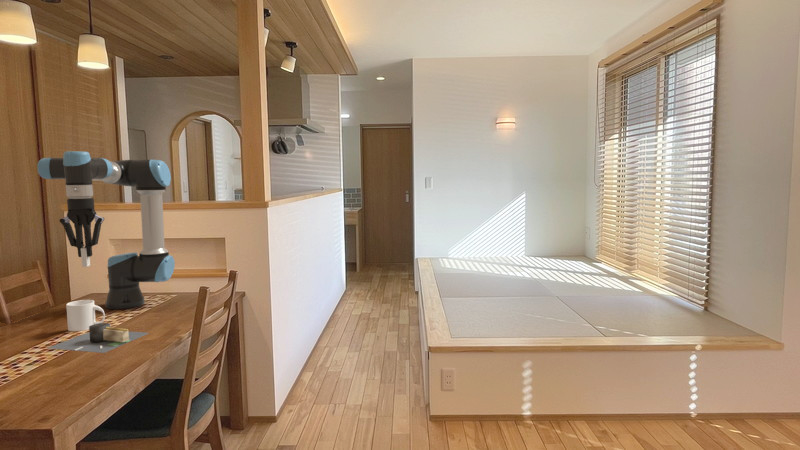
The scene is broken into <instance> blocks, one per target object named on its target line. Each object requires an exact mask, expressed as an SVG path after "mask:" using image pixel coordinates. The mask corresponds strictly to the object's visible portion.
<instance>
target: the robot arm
mask: <svg viewBox="0 0 800 450" xmlns="http://www.w3.org/2000/svg"><path fill="white" fill-rule="evenodd" d="M36 165H37V173H38V175H39V176H40V177H41V178H42V179H45V180H64V181H65V192H66V193H65V195H66V197H67V199H66V205H67V206H66V207H67V212H66V216H64V217H63V218H60V219H59V223H61V224H62V226H63V229H64V231H65V233H66V236H67V239H68V242H69V244H70V246H71V247H75V248H77V256H78V258H81V259H80V260H81V267H82V268H87V267H90V266H91V258H90V257H92V256H93V247H94V246H96V245H98V243H99V239H100V238H99V237H100V235H101V234H100V232H101V227H102V224H103V223H104V221H105V217H103V216H99V215H98V214H97V212H96V209H95V203H94V202H95V199H94V197H93V196H94V187H93V181H94V182H103V183H104V184H110V185H118V186H123V187H124V186H125V187H135V192H137V193H138V194H139V197H140V217H141V218H140V219H141V234H142V236H141V237H142V249H141V250H140V251H139V254H138V252H127V253H121V254H120V253H119V254H116V255H112V256H110V257H108V259H107V275H108V287H109V288H108V293H107V298H106V300H105V309H107V310H125V309H133V308H137V307H139V306H143V305H144V304H145V297H144V296H143V292H142V290H141V288H140V283H161V282H162V283H164V282H167V281H169V280H170V279H171V277H172V276H173V273H174V271H175V263H176V262H175V258H174V257H173V256H172V255H170V254H169V250H168V249H167V248H166V246H165V229H164V228H165V225H164V224H165V223H164V204H163V194H164V193H165V192H166V187H169V186H170V184H171V181H172V177H171V171H170V168H169V167H168V165H167V163H166V162H165V161H163V160H160V159H153V158H152V159H121V160H108V159H106V158H104V157H91V154H90V153H89V152H88V151H81V150H80V151H79V150H78V151H77V150H76V151H74V150H73V151H70V150H69V151H64V153H63V157H43V158H41V159H40V160H39V161H37V164H36ZM93 221H94V222H95V224H94V228H93V232H92V229H91V228H92V222H93ZM70 222H72V224H73V226H74V229H75V231H74V230H73V228H72V225H71V223H70ZM83 234H84V235H83Z"/></svg>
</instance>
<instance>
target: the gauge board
mask: <svg viewBox="0 0 800 450" xmlns="http://www.w3.org/2000/svg"><path fill="white" fill-rule="evenodd" d="M128 332H129V340H128V341H125V342H116V341H105V342H100V343H91V342H90V333H89V332H85V333H83V334H81V335H78V336H76V337H73V338H69V339H67V340H65V341H62V342H59V343H56V344H53V345H52V346H49V347H47V349H54V350H63V351H64V350H65V351H66V350H67V351H74V352H75V351H77V352H86V353H87V352H89V353H101V354H106V353H107V352H109V351H112V350H114V349H117V348H119V347H122V346H124V345H126V344H128V343H130V342H133V341H135V340H137V339H139V338H141V337H144V336H146V335H148V334H149V332H144V331H143V332H142V331H130V330H129V331H128Z"/></svg>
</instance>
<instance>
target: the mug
mask: <svg viewBox="0 0 800 450" xmlns="http://www.w3.org/2000/svg"><path fill="white" fill-rule="evenodd" d="M65 309H66V319H67V320H66V321H67V331H68V332H83V331H87V330H88V331H89V326H91V325H94V324H99V323H104V321H105V319H106V318H105V317H106V314H105V311H104V309H103V308H102V307H101V306H99V305H96V304H95V300H93V299H80V300H74V301H70V302H67V303H66V306H65ZM96 311H99V312H101V314H103V317H102V319H100V320H99V321H96Z"/></svg>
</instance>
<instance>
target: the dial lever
mask: <svg viewBox="0 0 800 450" xmlns="http://www.w3.org/2000/svg"><path fill="white" fill-rule="evenodd" d="M88 331H89V333H90V342H91V343H100V342H105V341H116V342H125V341H128V340H129V332H128V331H130V330H129V329H128V328H122V327H121V328H120V327H119V328H118V327H111V324H110V323H109V322H103V323H99V324H94V325H91V326H89V329H88Z"/></svg>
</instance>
